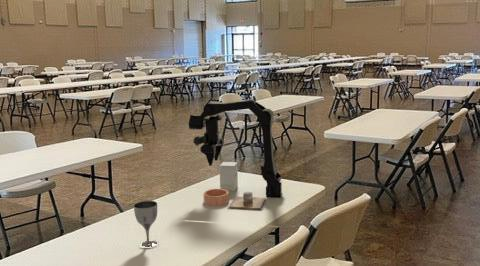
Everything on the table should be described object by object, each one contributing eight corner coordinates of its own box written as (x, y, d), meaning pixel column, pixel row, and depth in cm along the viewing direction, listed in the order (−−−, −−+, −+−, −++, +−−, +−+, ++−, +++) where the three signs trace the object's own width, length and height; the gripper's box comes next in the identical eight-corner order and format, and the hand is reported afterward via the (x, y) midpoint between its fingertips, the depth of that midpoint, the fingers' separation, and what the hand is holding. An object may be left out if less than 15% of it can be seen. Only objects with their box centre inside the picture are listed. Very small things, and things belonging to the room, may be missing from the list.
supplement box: (235, 191, 219) (234, 166, 217) (219, 191, 221) (218, 165, 218) (238, 187, 226) (237, 161, 224) (223, 186, 228) (222, 161, 225)
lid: (265, 199, 206) (265, 189, 205) (260, 209, 194) (259, 199, 193) (236, 198, 209) (236, 187, 208) (229, 208, 196) (229, 197, 195)
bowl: (231, 198, 209) (231, 189, 209) (225, 207, 199) (224, 197, 198) (208, 197, 212) (207, 188, 211) (201, 206, 202) (200, 196, 201)
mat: (268, 200, 207) (268, 198, 207) (262, 212, 192) (262, 210, 192) (235, 198, 210) (235, 197, 210) (227, 210, 196) (226, 208, 196)
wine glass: (138, 240, 168) (135, 201, 165) (160, 239, 168) (158, 199, 166) (135, 250, 160) (132, 209, 157) (158, 248, 161) (156, 207, 158)
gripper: (201, 125, 223) (202, 157, 226) (188, 133, 205) (190, 167, 208) (223, 126, 220) (224, 158, 223) (212, 133, 202) (214, 168, 205)
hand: (213, 162), depth 215 cm, fingers open, 9 cm apart
